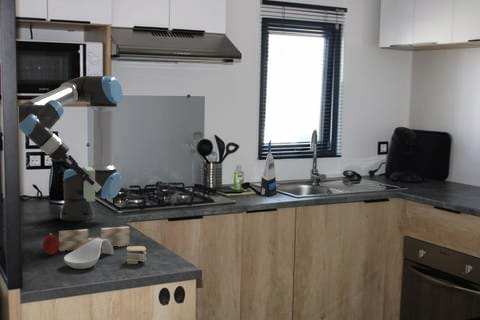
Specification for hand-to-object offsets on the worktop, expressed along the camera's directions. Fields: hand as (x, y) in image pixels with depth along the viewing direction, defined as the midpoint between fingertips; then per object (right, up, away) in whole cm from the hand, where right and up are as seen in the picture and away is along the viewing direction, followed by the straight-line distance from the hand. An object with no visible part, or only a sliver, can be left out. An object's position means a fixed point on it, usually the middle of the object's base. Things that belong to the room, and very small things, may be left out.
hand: (97, 187), depth 249 cm
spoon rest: (+4, -25, -28) cm, 38 cm away
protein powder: (+73, -9, +115) cm, 136 cm away
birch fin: (+1, -22, -9) cm, 24 cm away
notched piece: (-3, -5, -1) cm, 5 cm away
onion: (-12, -24, -20) cm, 33 cm away
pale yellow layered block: (+20, -26, -28) cm, 43 cm away
